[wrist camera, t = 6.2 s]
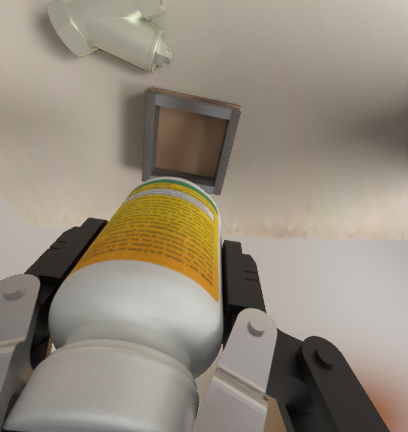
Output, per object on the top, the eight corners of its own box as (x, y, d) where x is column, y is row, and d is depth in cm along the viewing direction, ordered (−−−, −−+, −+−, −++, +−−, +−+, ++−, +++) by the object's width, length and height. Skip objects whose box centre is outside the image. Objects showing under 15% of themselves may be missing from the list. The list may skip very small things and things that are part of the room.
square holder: (239, 105, 23) (243, 110, 20) (220, 184, 27) (221, 197, 25) (152, 87, 22) (144, 89, 20) (147, 171, 27) (139, 182, 24)
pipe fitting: (183, 57, 22) (146, -40, 18) (180, 59, 18) (134, -59, 15) (111, 93, 23) (63, 11, 20) (96, 100, 20) (37, 3, 17)
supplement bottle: (227, 249, 14) (241, 493, 6) (143, 259, 15) (51, 488, 7) (211, 164, 11) (198, 394, 3) (110, 181, 12) (-113, 405, 4)
